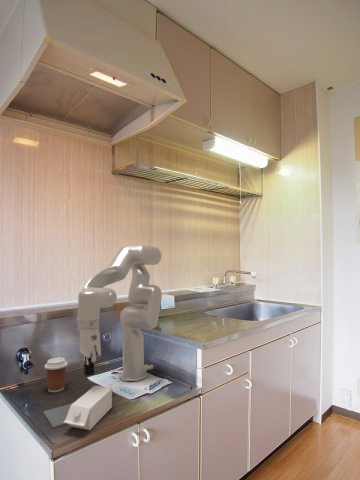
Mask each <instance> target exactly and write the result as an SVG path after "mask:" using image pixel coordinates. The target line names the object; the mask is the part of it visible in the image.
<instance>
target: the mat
mask: <svg viewBox="0 0 360 480" xmlns="http://www.w3.org/2000/svg"><path fill="white" fill-rule="evenodd" d="M73 403H74V402H72V403H68V404H66V405H63V406H62V405H61V406H59V407H55V408H51V409H47V410H44V411H42V412H43V415H44V417H45V418H46V420H47V421H48V422H49V424H50V426H51V427H52V429H57V428H59V427H62V426H65V425H68V424H67V423H63V422H64V421H65V420H66V417H67V414H68V412H69V409H70V406H71V405H72V404H73Z"/></svg>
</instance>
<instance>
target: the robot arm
mask: <svg viewBox="0 0 360 480" xmlns="http://www.w3.org/2000/svg"><path fill="white" fill-rule="evenodd" d="M161 261H162V251H161V250H160V248H159V247H157V246H151V245H145V244H134V245H133V244H132V245H131V244H130V245H124V246H121V247H120V249H119V250H118V252H117V253H116V254H115V256H114V258H113V259H112V261H111V262H110V264H109V266H107V267H106V268H103V269H102V270H101V271H99V272H98V273H96V274H95V275H93V276H92V277H91V278H90V279H89V280H88V281H87V282H86V284H85V285H84V287H83V288H82V290H81V291H80V292H78V296H77V297H78V298H77V299H78V302H77V305H78V312H77V313H78V315H77V316H78V317H77V318H78V319H77V321H78V326H77V329H78V330H79V344H78V345H79V353H81V354H82V355H83V366H84V367H83V368H84V369H83V370H84V371H83V374H84V376H85V377H89V376H92V375H95V364H96V363H95V362H96V361H97V356H98V357H100V356H101V355H102V354H101V353H102V349H101V346H102V345H101V334H100V321H101V319H100V309H103V308H104V309H106V308H111V307H112V306H114V305H115V304H116V302H117V300H118V299H117V297H118V295H117V293H116V291H115V290H114V289H112V288H109V287H106V286H108V285H109V286H110V285H112V284H116V283H118V282H121V281H122V280H124V279H126V277H127V275H128V274H129V272H130V270H131V272H132V273H131V274H132V276H131V282H130V285H129V286H130V287H129V289H128V295H127V299H128V302H129V303H130V304H133V305H138V306H127V307H124V308H123V309H122V310H121V312H120V315H119V319H120V326H121V331H122V334H121V335H122V372H120V373H119V379H120V380H121V381H122V382H123V381H124V382H127V381H135V382H139V381H138V380H140V381H142V380H141V379H143V380H145V379H146V378H147V377H148V371H150V370H153V369H154V365H153V364H145V357H144V355H145V353H144V350H145V348H144V343H145V342H144V341H145V340H144V339H145V338H144V334H143V332H142V330H154V329H155V328H156V326H157V325H158V322H159V318H160V317H159V316H160V311H161V305H162V289H161V288H160V286H158V285H156V284H150V281H151V280H150V279H151V275H150V272H149V270H148V268H147V267H146V266H147V265H151V266H156V265H158V264H159V263H160V262H161ZM142 306H145V307H142ZM146 306H147V307H146ZM144 378H145V379H144Z"/></svg>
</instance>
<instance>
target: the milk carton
mask: <svg viewBox="0 0 360 480" xmlns="http://www.w3.org/2000/svg"><path fill="white" fill-rule="evenodd" d="M72 403H73V404H72ZM72 403H71V404H72V405H71V406H70V409H69V412H68V414H67V417H66V420H65V421H64V422H63V423H67V424H66V425H68V426H69V427H72V428H77V429H81V430H86V431H91V430H92V429H93V428H94V427H95V426H96V424H97V423H99V422H100V420H101V419H102V418H103V417H104V416H105V415H106V414H107V413H108V412H109V411H110V410H111V409H112V407H113V406H112V405H113V387H108V386H101V385H93V386H92V387H91V388H89V390H87V391H86V392H85V393H84V394H83V395H81V396H80V397H79V398H78V399H76V400H75V401H74V402H72Z"/></svg>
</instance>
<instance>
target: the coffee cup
mask: <svg viewBox="0 0 360 480" xmlns="http://www.w3.org/2000/svg"><path fill="white" fill-rule="evenodd" d="M46 362H47V363H45V364H44V369H45V370H46V378H47V381H46V382H47V391H48V392H49V393H59V392H62V391H63V390H64V389H65V383H66V370H67V366H68V365H69V363H68V361H66V359H65V358H64V357H54V358H49V359H48V360H47V361H46Z"/></svg>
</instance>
